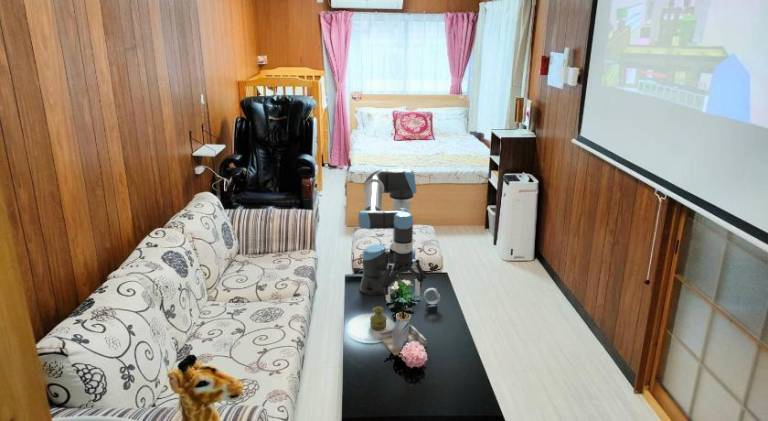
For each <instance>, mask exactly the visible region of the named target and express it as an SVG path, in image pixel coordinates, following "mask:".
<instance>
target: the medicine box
mask: <svg viewBox="0 0 768 421" xmlns="http://www.w3.org/2000/svg"><path fill="white" fill-rule="evenodd" d="M409 325H410V322H408V321H405V320H399V321H398V322H397V323H396V324H395V325H394V326H393V327H392V339H393V347H397V348H402V347H403V346H404V345H405V344H406V342H407V341H408V339H409Z"/></svg>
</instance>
